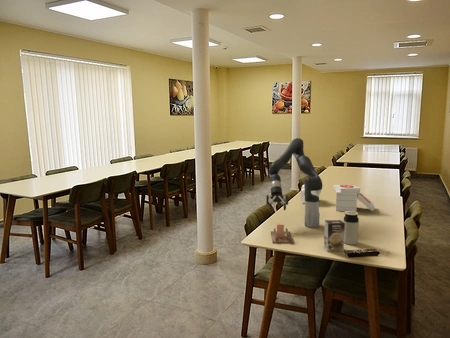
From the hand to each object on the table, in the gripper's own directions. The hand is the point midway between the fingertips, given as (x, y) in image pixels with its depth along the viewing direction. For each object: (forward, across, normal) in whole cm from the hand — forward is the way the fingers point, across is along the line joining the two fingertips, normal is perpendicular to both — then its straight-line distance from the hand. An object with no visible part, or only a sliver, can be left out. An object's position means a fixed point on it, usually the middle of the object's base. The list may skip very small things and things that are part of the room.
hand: (277, 209), depth 224 cm
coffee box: (+34, +27, -14) cm, 46 cm away
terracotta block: (+20, 0, -2) cm, 20 cm away
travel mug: (+26, +39, -7) cm, 48 cm away
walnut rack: (+20, +1, -1) cm, 20 cm away
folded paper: (-43, +37, +61) cm, 83 cm away
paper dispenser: (-25, +64, +43) cm, 81 cm away
